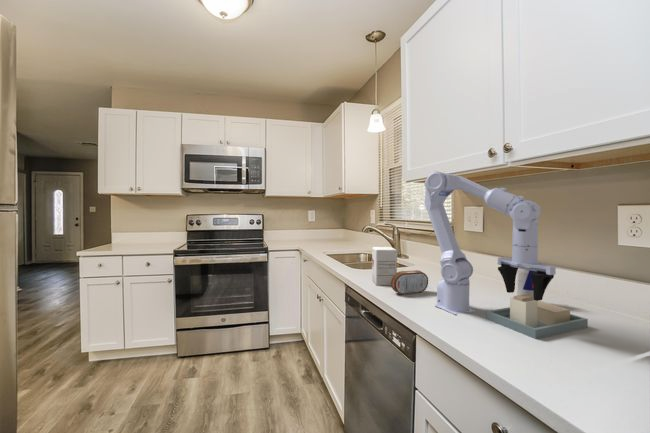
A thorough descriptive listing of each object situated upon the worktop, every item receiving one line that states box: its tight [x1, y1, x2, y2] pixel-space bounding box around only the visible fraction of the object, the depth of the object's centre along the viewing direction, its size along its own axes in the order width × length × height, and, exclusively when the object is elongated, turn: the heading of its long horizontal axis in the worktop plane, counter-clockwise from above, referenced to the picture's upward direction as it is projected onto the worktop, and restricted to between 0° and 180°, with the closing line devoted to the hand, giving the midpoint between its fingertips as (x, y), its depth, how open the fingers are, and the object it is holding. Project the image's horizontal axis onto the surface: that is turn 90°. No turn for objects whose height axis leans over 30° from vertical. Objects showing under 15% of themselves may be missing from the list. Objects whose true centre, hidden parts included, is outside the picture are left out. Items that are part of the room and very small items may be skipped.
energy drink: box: [516, 268, 537, 297], centre depth 100 cm, size 5×5×12 cm
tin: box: [390, 269, 429, 295], centre depth 113 cm, size 15×3×8 cm, turn 108°
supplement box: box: [371, 246, 398, 286], centre depth 129 cm, size 9×9×15 cm
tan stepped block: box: [537, 300, 571, 325], centre depth 84 cm, size 8×6×4 cm
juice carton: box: [509, 295, 538, 328], centre depth 81 cm, size 4×4×8 cm
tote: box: [485, 306, 589, 340], centre depth 82 cm, size 14×20×3 cm
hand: (523, 295), depth 81 cm, fingers open, 7 cm apart
